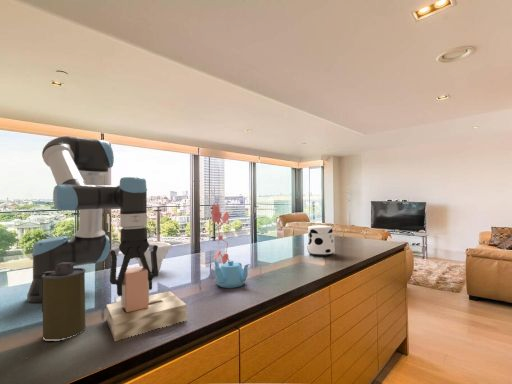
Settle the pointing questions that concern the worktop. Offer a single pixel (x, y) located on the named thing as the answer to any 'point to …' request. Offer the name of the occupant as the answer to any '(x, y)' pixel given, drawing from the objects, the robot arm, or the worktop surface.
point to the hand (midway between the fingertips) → (135, 303)
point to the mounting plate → (146, 316)
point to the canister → (63, 301)
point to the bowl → (160, 253)
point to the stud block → (136, 288)
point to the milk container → (320, 240)
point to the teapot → (230, 274)
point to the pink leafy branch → (215, 219)
